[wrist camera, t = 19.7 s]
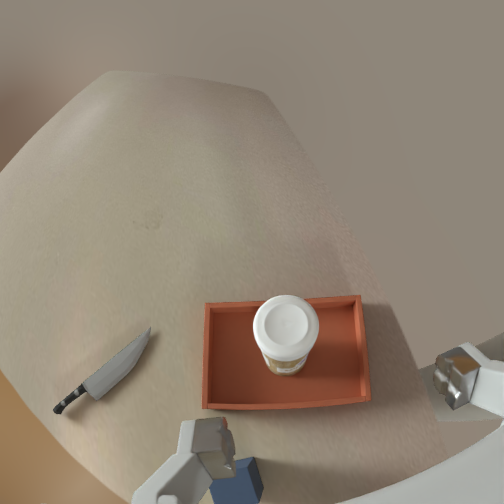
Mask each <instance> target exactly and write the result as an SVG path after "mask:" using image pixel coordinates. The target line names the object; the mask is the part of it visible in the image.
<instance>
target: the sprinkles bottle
mask: <svg viewBox="0 0 504 504" xmlns="http://www.w3.org/2000/svg"><path fill="white" fill-rule="evenodd" d="M253 332H254V336H255V340H256V342H257V344H258V346H259V348H260V349H261V351H262V354H263V356H264V359H265V362H266V364H267V366H268V368H269V369H270V370H271V371H272V372H273V373H274V374H276V375H279V376H292V375H294V374H296V373H298V372H299V371H300V370H301V369H302V368H303V366H304V365H305V362H306V359H307V356H308V354H309V351H310V350H311V348H312V347H313V345H314V343H315V341H316V339H317V336H318V332H319V320H318V316H317V314H316V312H315V310H314V309H313V307H312V306H311V305H310V304H309V303H308V302H307V301H305V300H304V299H302V298H300V297H297V296H293V295H280V296H276V297H273V298H271V299H269V300H268V301H266V302H265V303H264V304H263V305H262V306H261V307H260V308H259V310H258V311H257V313H256V315H255V318H254V322H253Z"/></svg>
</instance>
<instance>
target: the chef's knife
mask: <svg viewBox="0 0 504 504" xmlns="http://www.w3.org/2000/svg"><path fill="white" fill-rule="evenodd" d="M150 330H151V327H150V328H149V329H147V330H146V331H145V332H144V333H142V334H141V335H140V336H139V337H137V338H136V339H135V340H134V341H132V342H131V343H130V344H129V345H127V346H126V347H125V348H124V349H123V350H121V351H120V352H119V353H118V354H116V355H115V356H114V357H113V358H112V359H110V360H109V361H108V362H107V363H106V364H104V365H103V366H102V367H101V368H100V369H99V370H97V371H96V372H95V373H94V374H93V375H91V376H90V377H89V378H88V379H87V380H85V381H84V382H83V383H82V384H81V385H80V386H79V387H78V388H77V389H75V390H74V391H73V392H72V393H71V394H70V395H68V396H67V397H66V398H65V399H64V400H62V401H61V402H60V403H59V404H58V405H56V406H55V408H54V409H53V411H54V413H56V414H61V413H62V411H63V410H64V408H65V407H66V406H67V405H68V404H69V403H71V402H72V401H73V400H75V399H76V398H78V397H79V396H80V395H82V394H83V393H84V392H88V393H89V394H90V395H91V396H92V397H93V398H94V399H95V400H96V401H97V400H99V399H100V398H101V397H102V396H103V395H104V394H105V393H107V392H108V391H109V390H110V389H111V388H112V387H113V386H114V385H116V384H117V383H118V382H119V381H120V380H121V379H122V378H124V377H125V376H126V375H127V374H128V373H129V372H130V370H131V369H132V368H133V367H134V366H135V364H136V363H137V361H138V359H139V357H140V355H141V353H142V352H143V350H144V348H145V346H146V344H147V342H148V339H149V334H150Z"/></svg>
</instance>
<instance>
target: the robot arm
mask: <svg viewBox="0 0 504 504" xmlns="http://www.w3.org/2000/svg"><path fill="white" fill-rule="evenodd" d="M435 364H436V365H437V369H436V370H435V372H434V376H433V381H434V386H435V388H436V390H437V391H438V392H439V394H442V395H445V401H446V402H447V404H448V405H449V406H450V407H451V409H452V410H455V409H457V408H459V407H461V406H463V405H465V404H467V403H469V402H470V403H471V404H473V405H475V406H478V407H480V408H482V409H485V410H487V411H489V412H492V413H494V414H497V415H499V416H501V417H504V362H503V361H498V360H492V361H491V360H490V359H488V358H487V357H486V356H485V355H484V354H483V353H482V352H480V351H479V350H478V349H477V348H476V347H475V346H473V345H472V344H471V343H470V342H466V343H464V344H462V345H460V346H458V347H456V348H453V349H452V350H449V351H447V352H445V353H443V354H441V355H438V357H437V358H436V363H435ZM234 455H235V444H234V439H233V436H232V433H231V431H230V430H228V429H227V421H226V419H225V417H216V418H207V419H197V420H187V421H183V422H182V424H181V429H180V435H179V442H178V448H177V454H173V455H172V456H171V457H170V458H169V459H168V460H167V461H166V462H165V463H164V464H163V465H162V466H161V467H160V468H159V469H158V470H157V471H156V472H155V473H154V474H153V475H152V476H151V477H150V478H149V479H148V480H147V481H145V482H144V483H143V484H142V485H141V486H140V487H139V488H138V489H137V490H136V491H135V492H134V493H133V498H132V502H131V504H198V503H199V501H200V500H201V498H202V497H203V496H204V494H205V493H206V491H207V490H208V488H209V487H210V485H211V484H212V482H213V480H217V479H226V478H233V477H236V463H235V460H234V458H233V456H234ZM336 504H504V418H503V421H502V423H501V425H500V427H499V428H498V429H497V430H495V431H494V432H492V433H491V434H489V435H488V436H486V437H485V438H483V439H481V440H480V441H478V442H477V443H475V444H473V445H472V446H470V447H468V448H467V449H465V450H463V451H461V452H460V453H458V454H456V455H454V456H453V457H451V458H449V459H447V460H445V461H443V462H441V463H439V464H437V465H435V466H433V467H431V468H429V469H427V470H425V471H423V472H421V473H418V474H416V475H414V476H412V477H410V478H407V479H405V480H402V481H400V482H398V483H395V484H393V485H390V486H388V487H385V488H382V489H380V490H377V491H374V492H371V493H368V494H365V495H362V496H359V497H356V498H353V499H350V500H347V501H343V502H340V503H336Z"/></svg>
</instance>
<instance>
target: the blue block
mask: <svg viewBox="0 0 504 504" xmlns="http://www.w3.org/2000/svg"><path fill="white" fill-rule="evenodd" d="M235 463H236V477H233V478H226V479H217V480H213V482H212V484H211V485H210V487H209V489H210V492H211V495H212V498H213V501H214V504H258V503H259V502H260V498H261V495H262V491H263V488H264V487H263V484H262V481H261V478H260V475H259V472H258V469H257V466H256V463H255V459H254V457H250V458H246V459H241V460H236V461H235Z"/></svg>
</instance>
